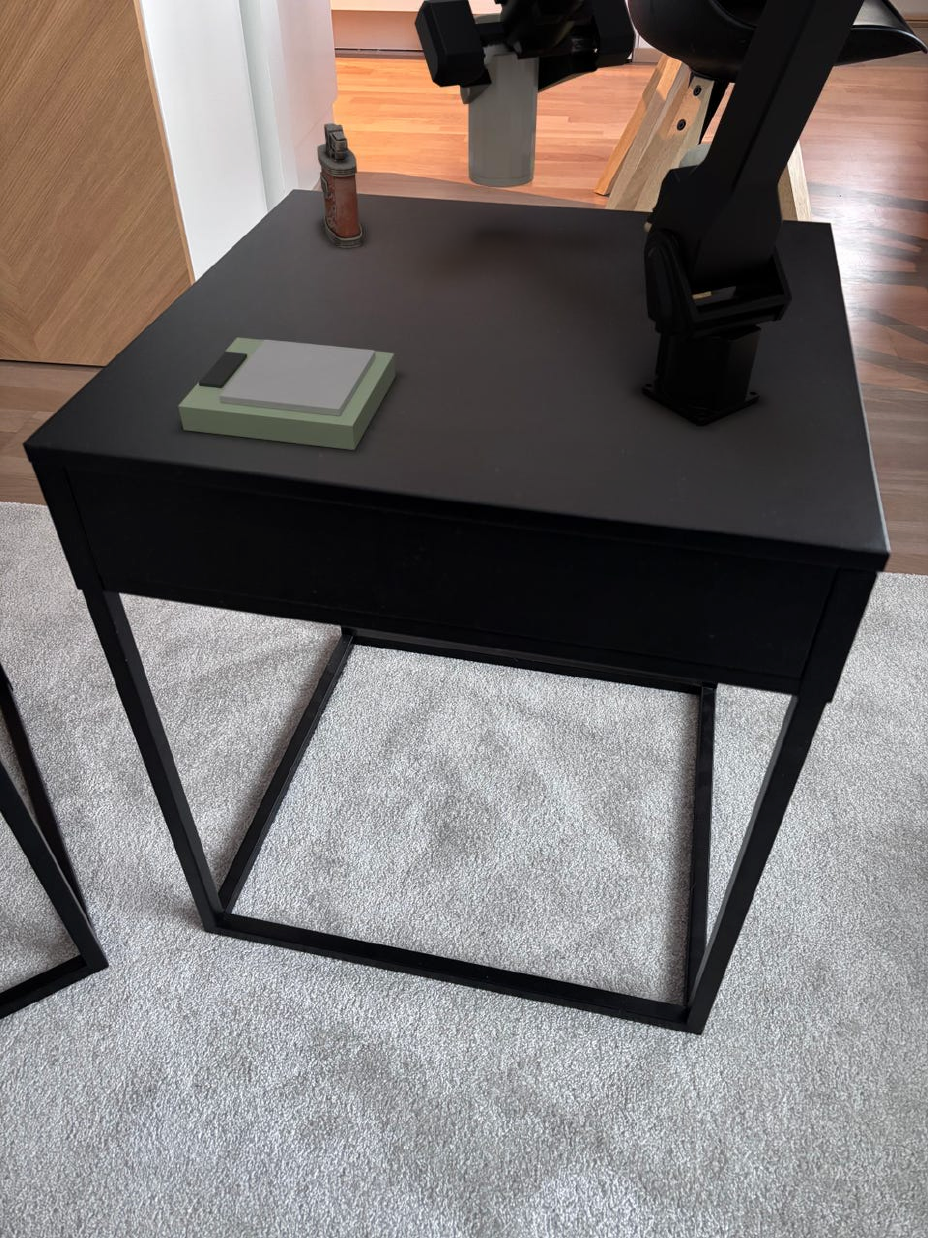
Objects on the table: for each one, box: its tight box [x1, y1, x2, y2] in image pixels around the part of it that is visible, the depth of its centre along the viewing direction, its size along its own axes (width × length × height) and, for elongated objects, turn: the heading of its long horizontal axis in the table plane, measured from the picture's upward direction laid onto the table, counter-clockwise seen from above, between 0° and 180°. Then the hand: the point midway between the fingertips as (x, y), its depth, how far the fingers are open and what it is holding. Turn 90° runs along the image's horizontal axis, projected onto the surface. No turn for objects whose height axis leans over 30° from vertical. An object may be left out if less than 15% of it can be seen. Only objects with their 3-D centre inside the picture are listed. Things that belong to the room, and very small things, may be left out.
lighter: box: [316, 122, 363, 249], centre depth 93 cm, size 8×3×10 cm, turn 17°
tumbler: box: [467, 12, 539, 189], centre depth 87 cm, size 6×6×13 cm
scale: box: [177, 337, 396, 451], centre depth 71 cm, size 13×11×3 cm
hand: (496, 94), depth 87 cm, fingers closed on tumbler, 6 cm apart
